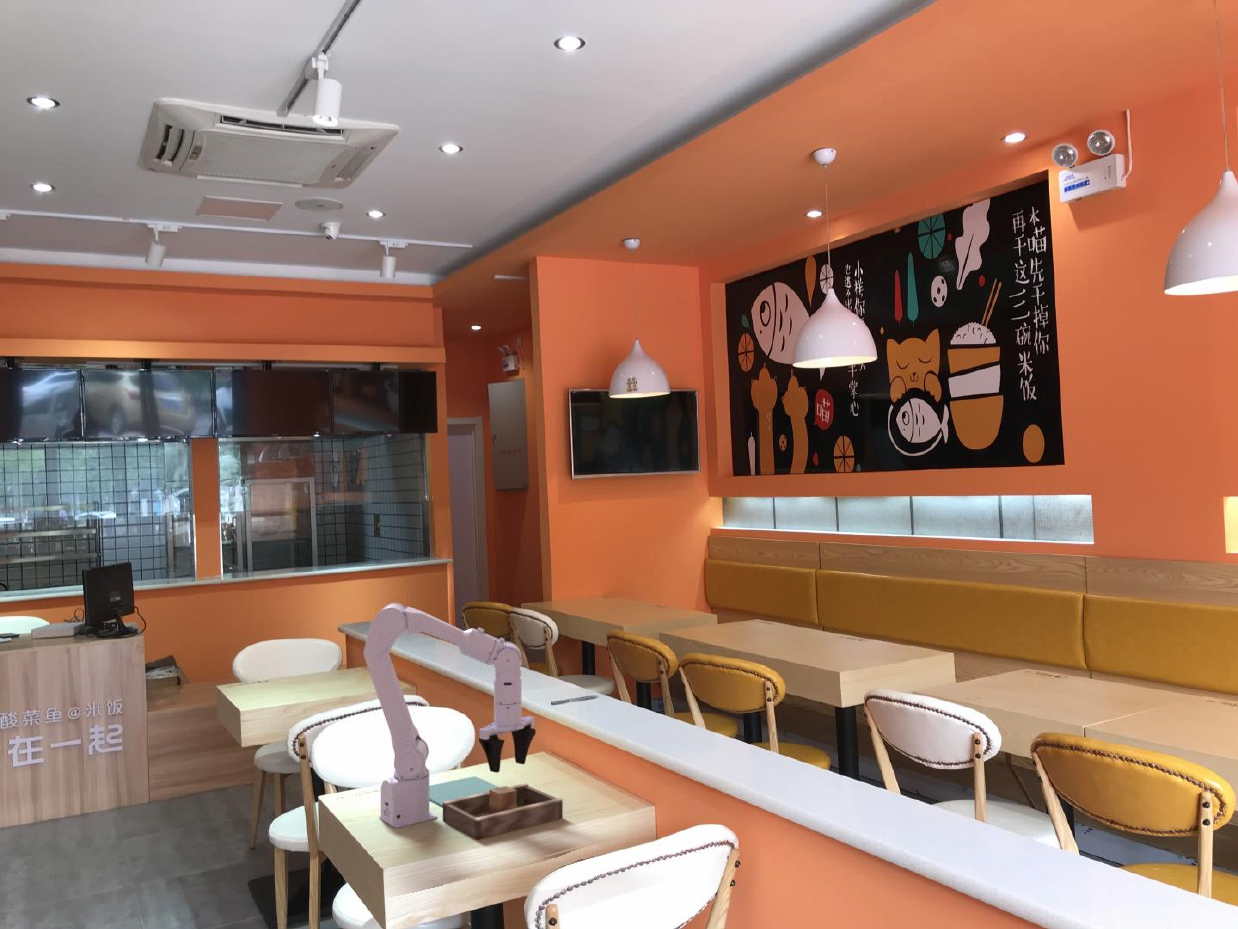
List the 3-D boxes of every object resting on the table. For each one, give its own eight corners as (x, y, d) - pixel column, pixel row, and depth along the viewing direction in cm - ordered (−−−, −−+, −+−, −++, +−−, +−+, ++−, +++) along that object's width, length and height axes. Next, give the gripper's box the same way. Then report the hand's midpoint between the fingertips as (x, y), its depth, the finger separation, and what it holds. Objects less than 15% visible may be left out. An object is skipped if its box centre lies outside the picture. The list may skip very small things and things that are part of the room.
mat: (446, 809, 204) (446, 807, 204) (412, 791, 217) (412, 789, 217) (511, 794, 214) (511, 792, 214) (475, 778, 227) (475, 776, 227)
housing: (477, 840, 186) (477, 820, 186) (442, 820, 197) (442, 801, 197) (562, 818, 199) (562, 799, 199) (525, 801, 210) (525, 783, 210)
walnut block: (499, 824, 195) (499, 794, 195) (489, 819, 198) (489, 789, 198) (516, 820, 198) (516, 790, 198) (506, 815, 201) (506, 786, 201)
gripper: (496, 710, 194) (496, 778, 194) (545, 698, 206) (545, 763, 205) (472, 706, 199) (472, 772, 198) (521, 694, 210) (521, 757, 210)
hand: (507, 767), depth 202 cm, fingers open, 7 cm apart
